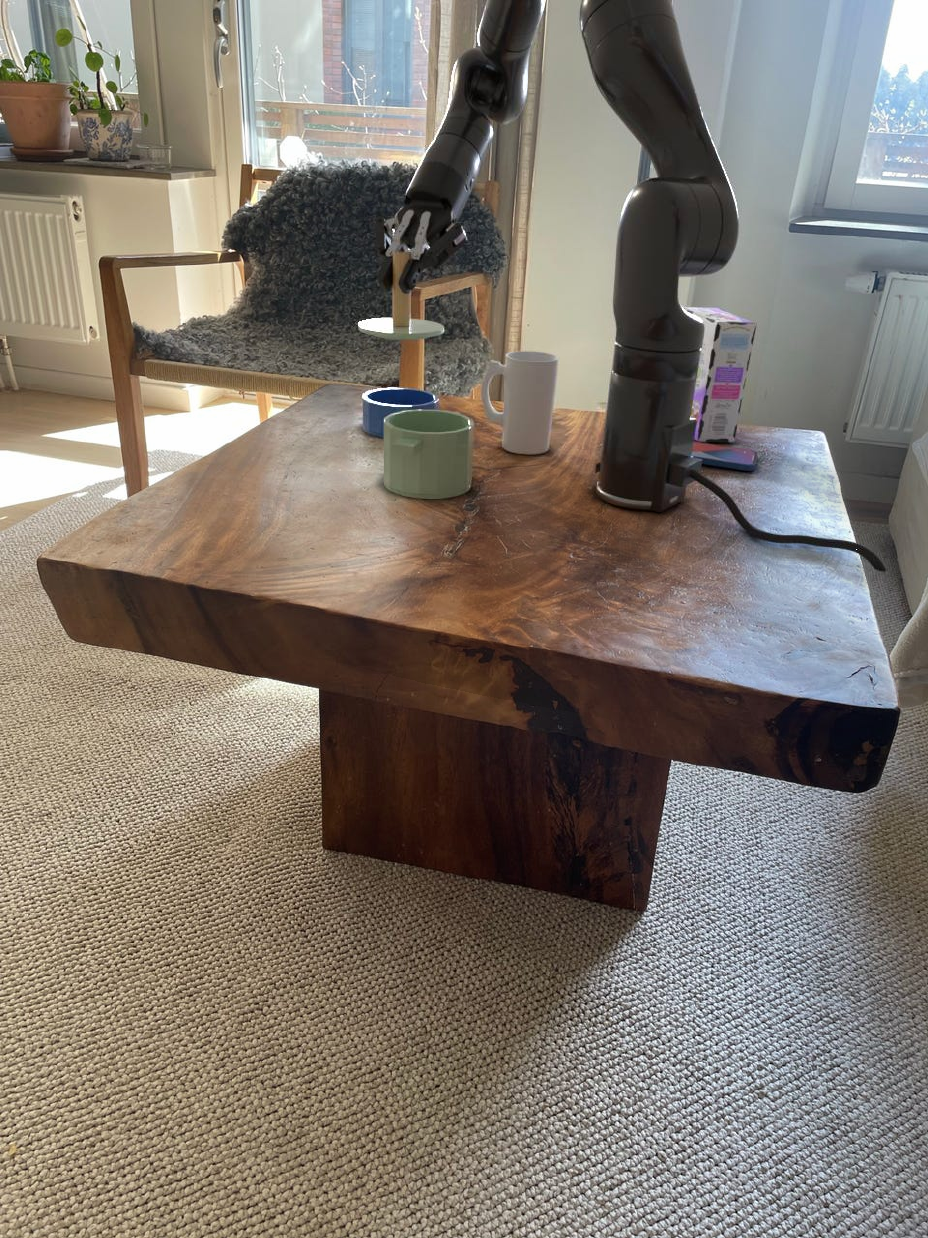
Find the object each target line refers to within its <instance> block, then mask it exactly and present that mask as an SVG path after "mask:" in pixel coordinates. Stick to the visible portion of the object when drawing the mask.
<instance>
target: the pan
mask: <svg viewBox="0 0 928 1238" xmlns="http://www.w3.org/2000/svg"><path fill="white" fill-rule="evenodd" d="M439 408H440V399H439V396H438V395H437V394H435V393H433V392H431V391H428V390H423V389H418V388H408V387H387V388H377V389H373V390H372V389H371V390H368V391H366V392H365V393H362V430H363V431H364V432H365V433H367V434H368V435H371V436H373V437H378V438H382V439H384V418H385V417H386V416H388V415H390V414H392V413H396V412H400V411H406V410H418V409H419V410H420V409H422V410H440V409H439Z"/></svg>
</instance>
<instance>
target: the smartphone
mask: <svg viewBox="0 0 928 1238" xmlns="http://www.w3.org/2000/svg"><path fill="white" fill-rule="evenodd" d="M691 456H692V457H694V458H698V459H702V465H708V466H713V467H719V468H726V469H733V470H739V471H747V472H751V471H752V472H753V471H754V470H755V468H756V463H757V457H758V452H757V451H756V450H752V449H747V448H740V447H732V446H727V445H721V444H713V443H709V442H697V441H694V443H693V449H692V455H691Z"/></svg>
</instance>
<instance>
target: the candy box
mask: <svg viewBox="0 0 928 1238" xmlns="http://www.w3.org/2000/svg"><path fill="white" fill-rule="evenodd" d="M682 308H683V309H684V310H686V311H687V312H689V313H691V314H693V315H695V316H697V317H699V318H700V319H701V320H702V321H703V322H704V326H705V331H704V339H703V345H702V349H701V355H700V361H699V368H698V374H697V379H696V386H695V392H694V398H693V405H692V411H691V417H692V418H695V419H696V420H697V425H696V431H695V437H694V441H695V442H701V443H735V441H736V436H737V431H738V425H739V424H738V423H739V418H740V413H741V408H742V403H743V397H744V391H745V387H746V382H747V377H748V371H749V366H750V361H751V355H752V350H753V345H754V340H755V335H756V330H757V326H758V323H757V322H754V321H751V320H748V319H746V318H743V317H740V316H738V315H735V314H733V313H730V312H727V311H725V310H723V309H721V308H718V307H701V306H700V307H695V306H694V307H693V306H682Z"/></svg>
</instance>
